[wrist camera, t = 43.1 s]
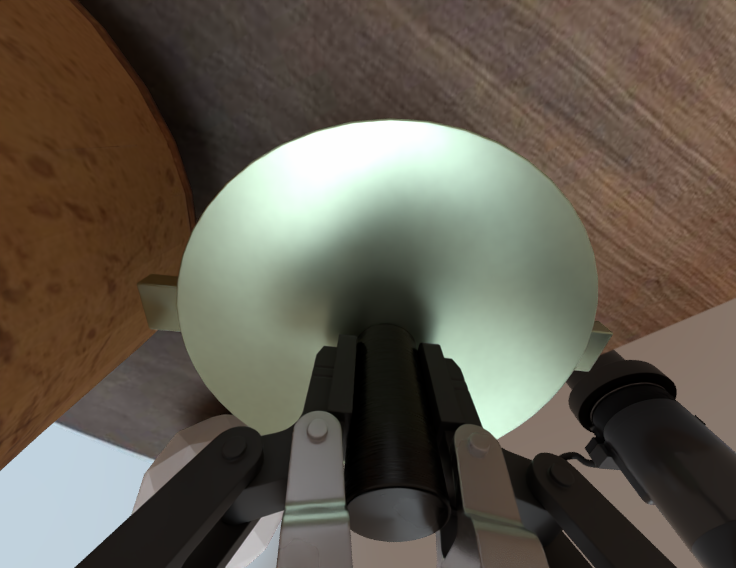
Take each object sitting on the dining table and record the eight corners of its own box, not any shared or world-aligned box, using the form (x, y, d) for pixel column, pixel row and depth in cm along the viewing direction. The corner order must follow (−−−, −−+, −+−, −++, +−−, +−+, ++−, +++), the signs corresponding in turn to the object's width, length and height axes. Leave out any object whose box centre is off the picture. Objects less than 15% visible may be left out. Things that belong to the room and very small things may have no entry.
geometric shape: (250, 375, 40) (220, 406, 25) (315, 464, 40) (322, 545, 25) (147, 450, 36) (43, 536, 21) (219, 547, 36) (165, 696, 22)
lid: (501, 458, 17) (575, 643, 11) (216, 435, 17) (122, 621, 10) (669, 156, 10) (1217, 204, 3) (150, 82, 9) (-382, -31, 3)
